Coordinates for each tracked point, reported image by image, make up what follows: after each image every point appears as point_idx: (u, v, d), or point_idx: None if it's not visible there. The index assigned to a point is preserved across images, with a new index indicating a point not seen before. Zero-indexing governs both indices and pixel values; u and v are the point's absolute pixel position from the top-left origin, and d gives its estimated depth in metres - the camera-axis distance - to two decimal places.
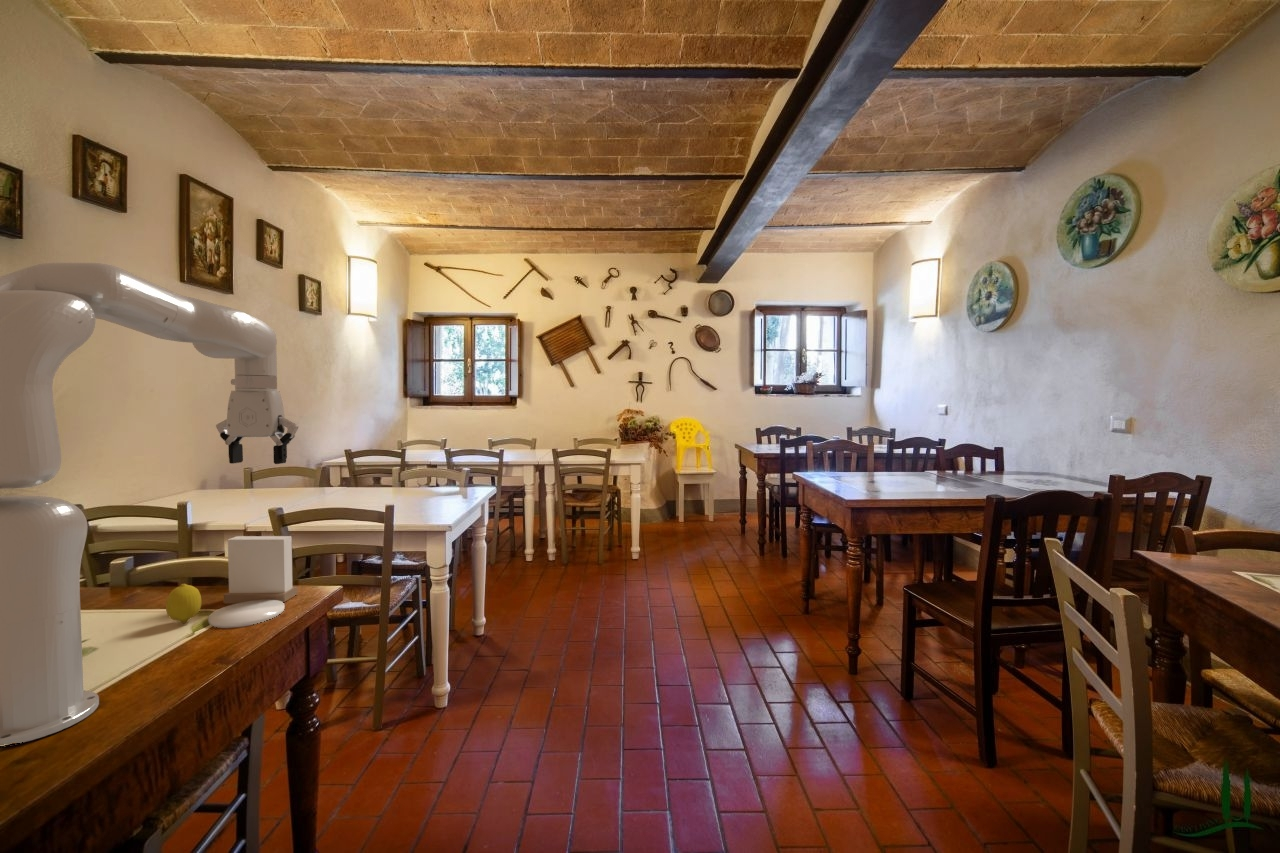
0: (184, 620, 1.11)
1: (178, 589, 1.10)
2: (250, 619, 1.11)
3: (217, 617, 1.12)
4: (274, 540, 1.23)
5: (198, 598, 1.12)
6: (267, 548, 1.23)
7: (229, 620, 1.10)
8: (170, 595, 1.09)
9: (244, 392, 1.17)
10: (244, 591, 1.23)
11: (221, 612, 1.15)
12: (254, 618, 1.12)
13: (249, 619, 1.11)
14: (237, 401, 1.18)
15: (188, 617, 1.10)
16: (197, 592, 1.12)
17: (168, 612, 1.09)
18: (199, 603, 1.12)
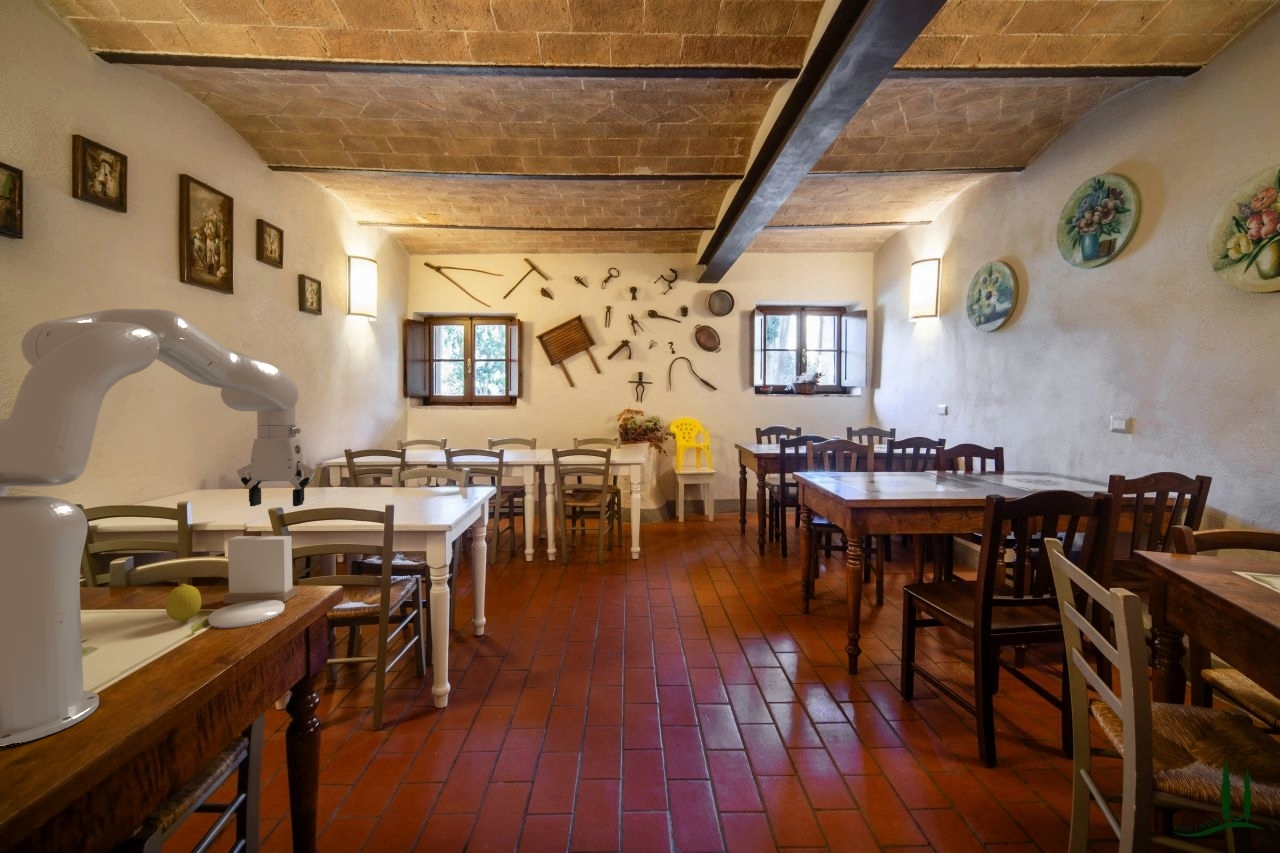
0: (184, 620, 1.11)
1: (178, 589, 1.10)
2: (250, 619, 1.11)
3: (217, 617, 1.12)
4: (274, 540, 1.23)
5: (198, 598, 1.12)
6: (267, 548, 1.23)
7: (229, 620, 1.10)
8: (170, 595, 1.09)
9: None
10: (244, 591, 1.23)
11: (221, 612, 1.15)
12: (254, 618, 1.12)
13: (249, 619, 1.11)
14: None
15: (188, 617, 1.10)
16: (197, 592, 1.12)
17: (168, 612, 1.09)
18: (199, 603, 1.12)
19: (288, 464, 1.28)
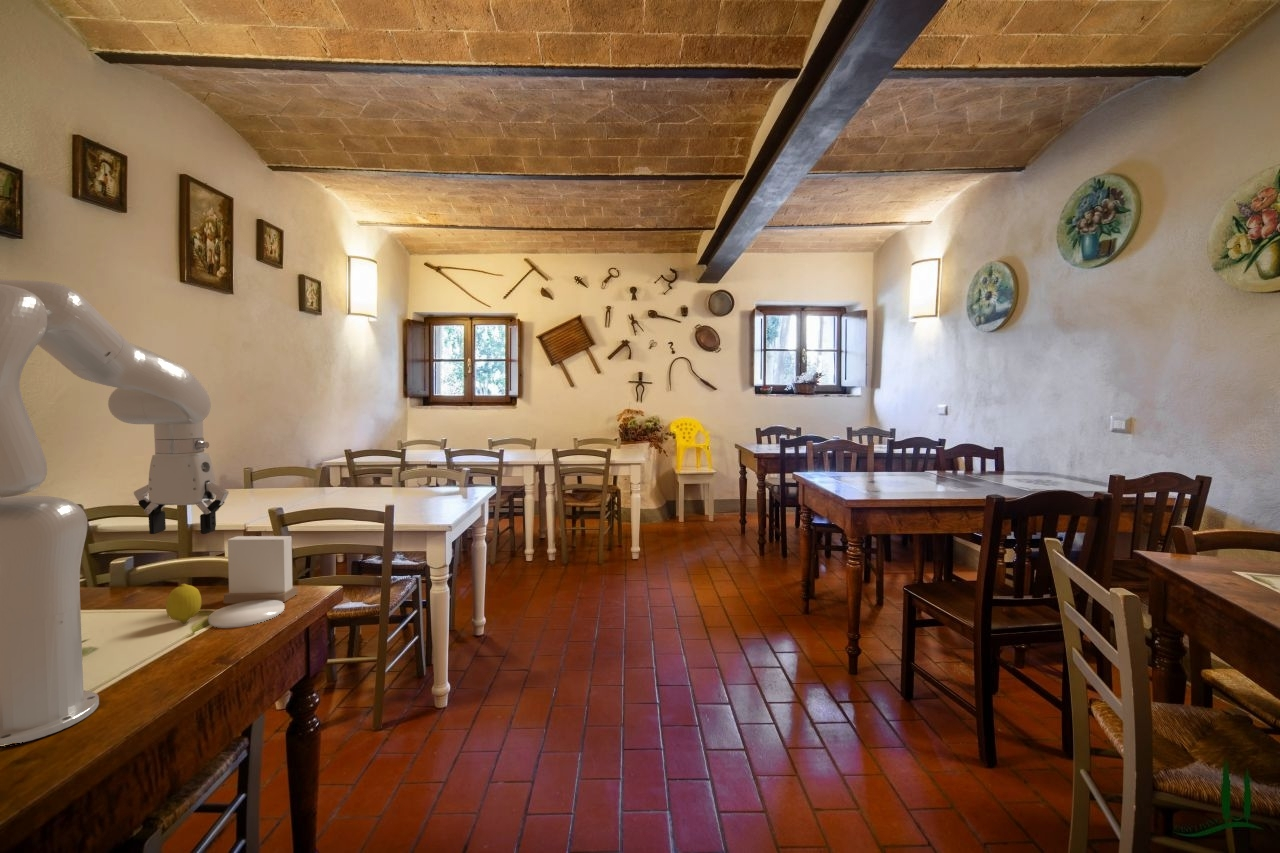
0: (184, 620, 1.11)
1: (178, 589, 1.10)
2: (250, 619, 1.11)
3: (217, 617, 1.12)
4: (274, 540, 1.23)
5: (198, 598, 1.12)
6: (267, 548, 1.23)
7: (229, 620, 1.10)
8: (170, 595, 1.09)
9: None
10: (244, 591, 1.23)
11: (221, 612, 1.15)
12: (254, 618, 1.12)
13: (249, 619, 1.11)
14: None
15: (188, 617, 1.10)
16: (197, 592, 1.12)
17: (168, 612, 1.09)
18: (199, 603, 1.12)
19: (193, 485, 1.08)
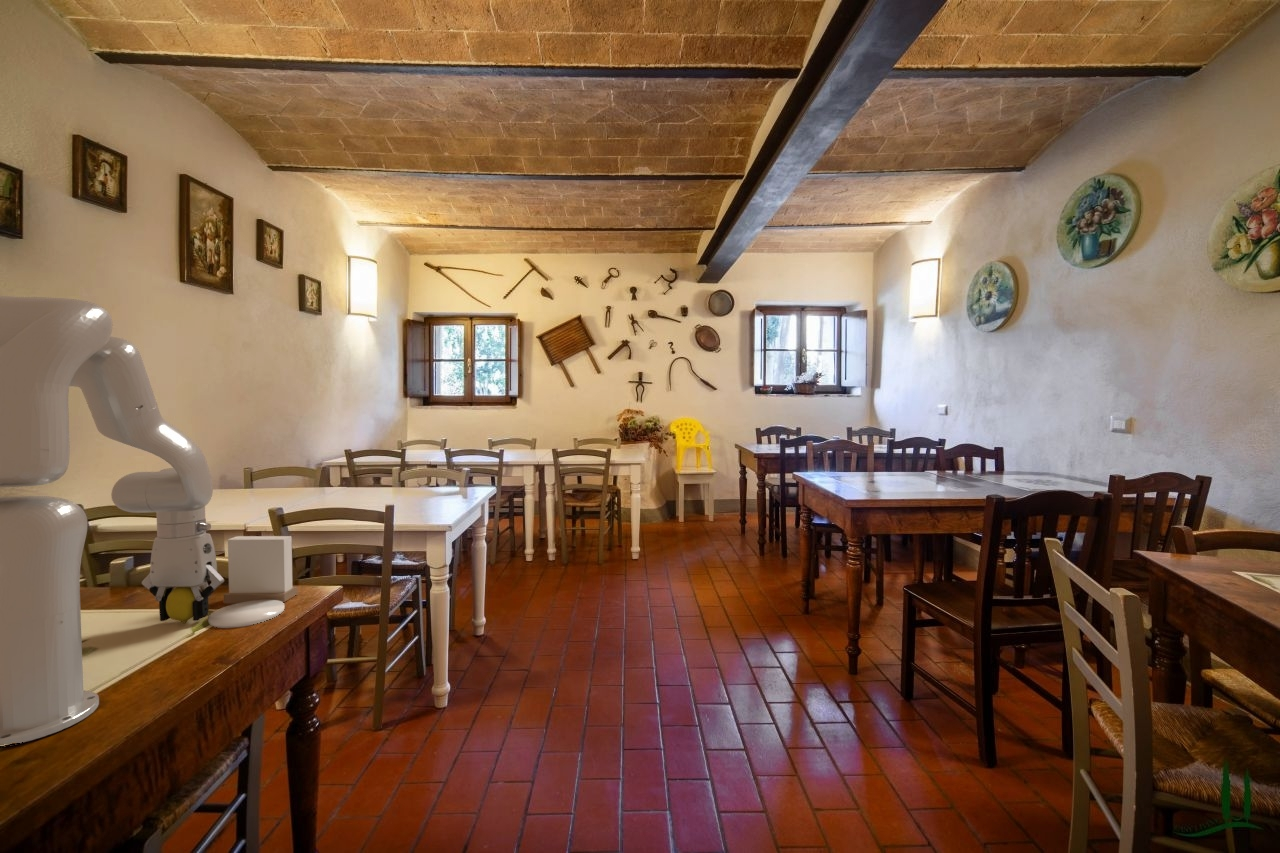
0: (184, 620, 1.11)
1: (178, 589, 1.10)
2: (250, 619, 1.11)
3: (217, 617, 1.12)
4: (274, 540, 1.23)
5: None
6: (267, 548, 1.23)
7: (229, 620, 1.10)
8: (170, 595, 1.09)
9: None
10: (244, 591, 1.23)
11: (221, 612, 1.15)
12: (254, 618, 1.12)
13: (249, 619, 1.11)
14: None
15: (188, 617, 1.10)
16: None
17: (168, 612, 1.09)
18: None
19: (195, 568, 1.09)
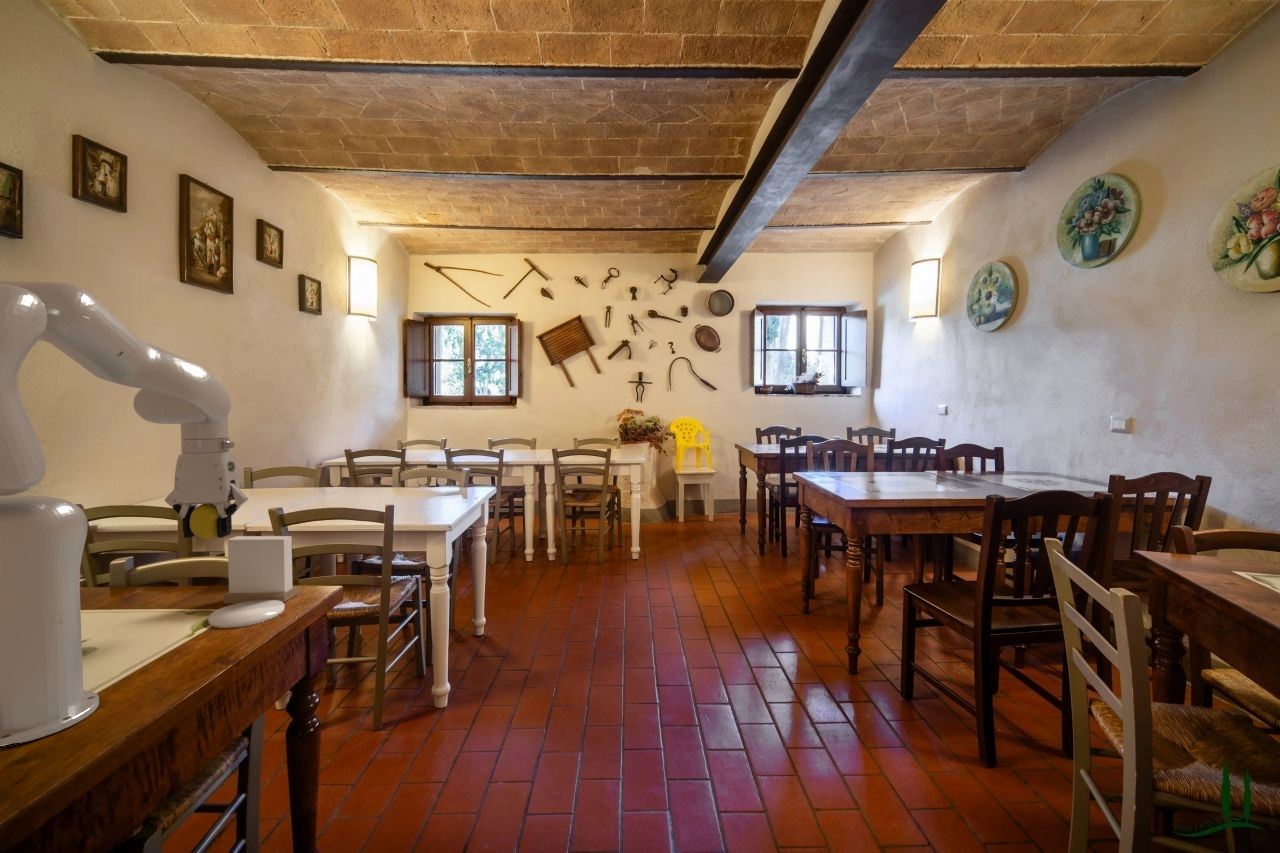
0: (208, 537, 1.11)
1: (202, 506, 1.11)
2: (250, 619, 1.11)
3: (217, 617, 1.12)
4: (274, 540, 1.23)
5: None
6: (267, 548, 1.23)
7: (229, 620, 1.10)
8: (194, 511, 1.10)
9: None
10: (244, 591, 1.23)
11: (221, 612, 1.15)
12: (254, 618, 1.12)
13: (249, 619, 1.11)
14: None
15: (212, 534, 1.11)
16: None
17: (192, 528, 1.10)
18: None
19: (219, 484, 1.10)
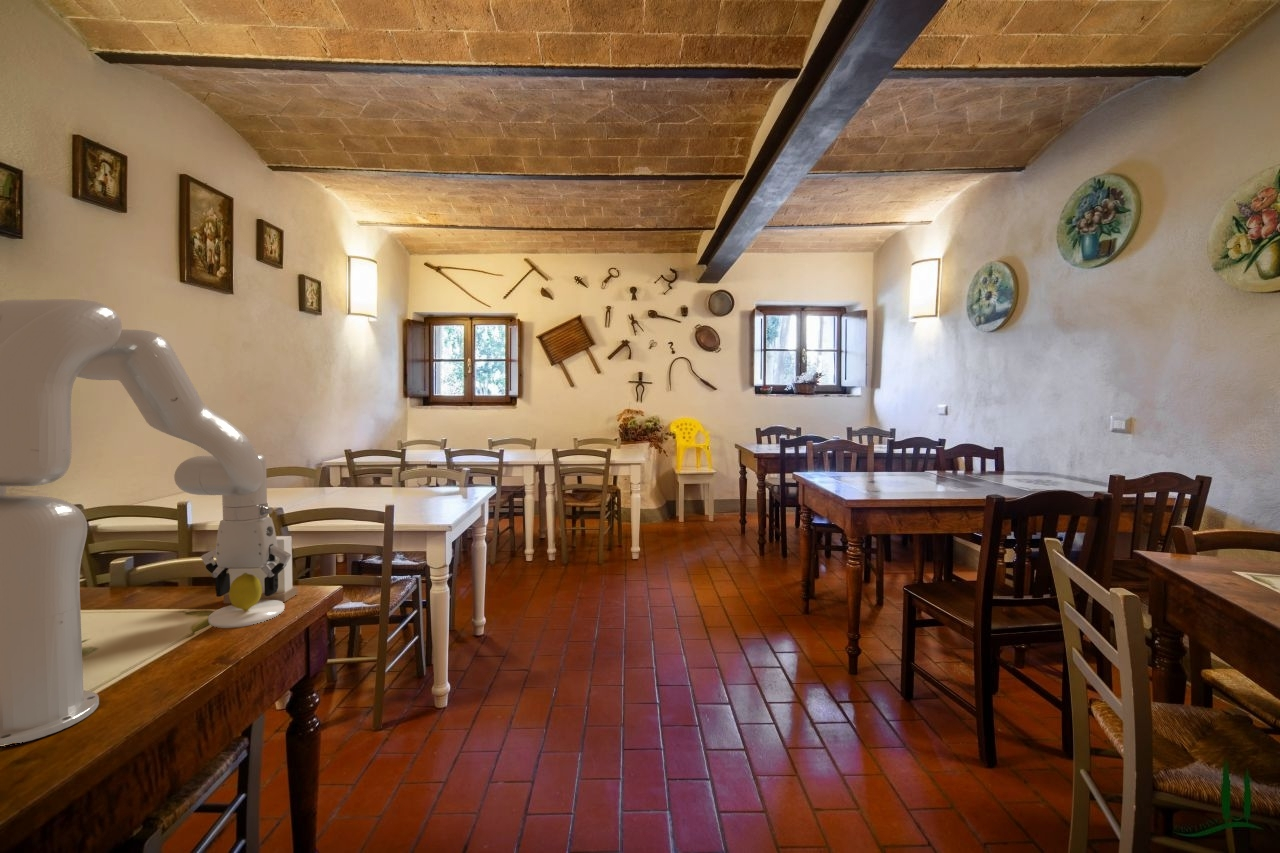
0: (246, 608, 1.15)
1: (241, 578, 1.14)
2: (250, 619, 1.11)
3: (217, 617, 1.12)
4: None
5: (259, 587, 1.16)
6: None
7: (229, 620, 1.10)
8: (233, 584, 1.13)
9: None
10: None
11: (221, 612, 1.15)
12: (254, 618, 1.12)
13: (249, 619, 1.11)
14: None
15: (250, 605, 1.14)
16: (258, 581, 1.16)
17: (232, 600, 1.13)
18: (260, 592, 1.16)
19: (259, 550, 1.13)
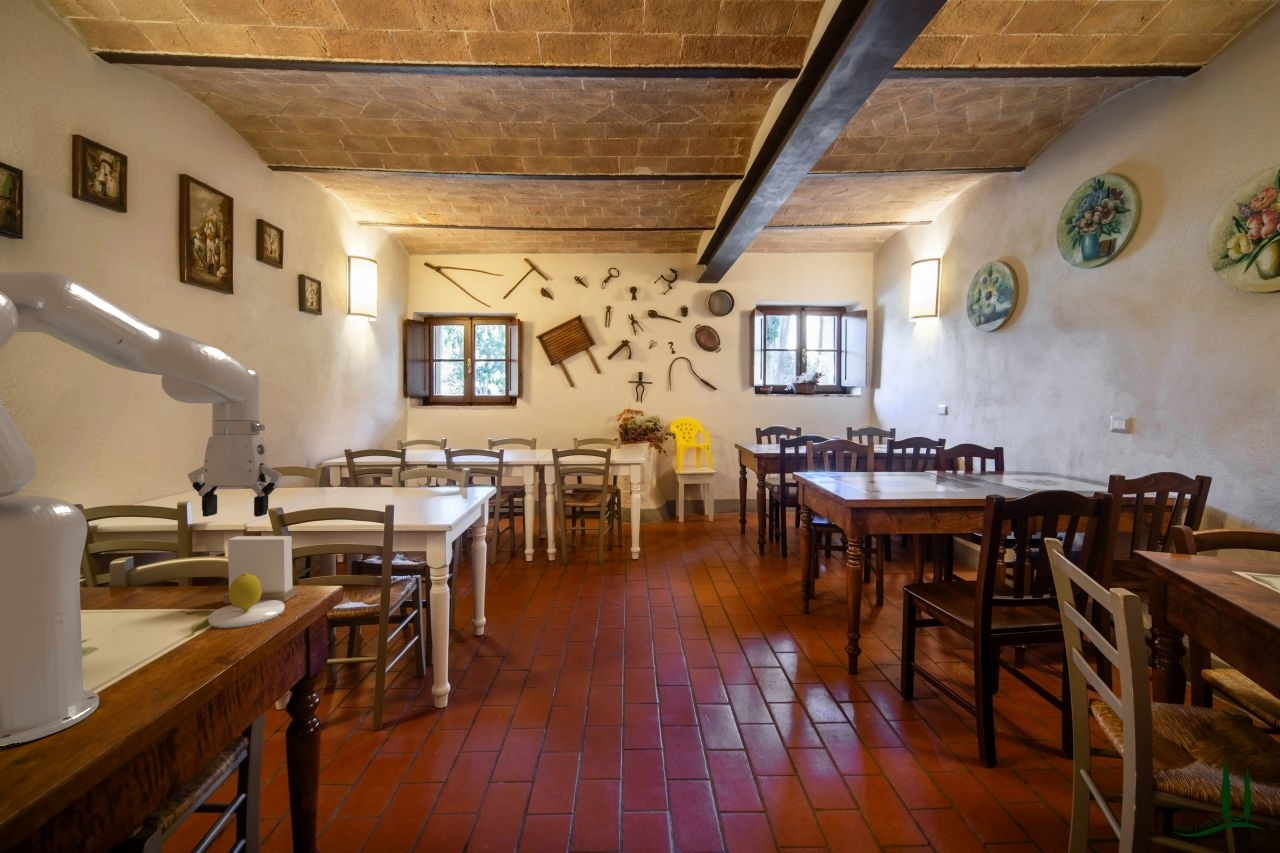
0: (246, 608, 1.15)
1: (240, 578, 1.14)
2: (250, 619, 1.11)
3: (217, 617, 1.12)
4: (274, 540, 1.23)
5: (259, 587, 1.16)
6: (267, 548, 1.23)
7: (229, 620, 1.10)
8: (233, 584, 1.13)
9: None
10: None
11: (221, 612, 1.15)
12: (254, 618, 1.12)
13: (249, 619, 1.11)
14: None
15: (250, 605, 1.14)
16: (258, 581, 1.16)
17: (231, 600, 1.13)
18: (260, 591, 1.16)
19: (249, 467, 1.09)
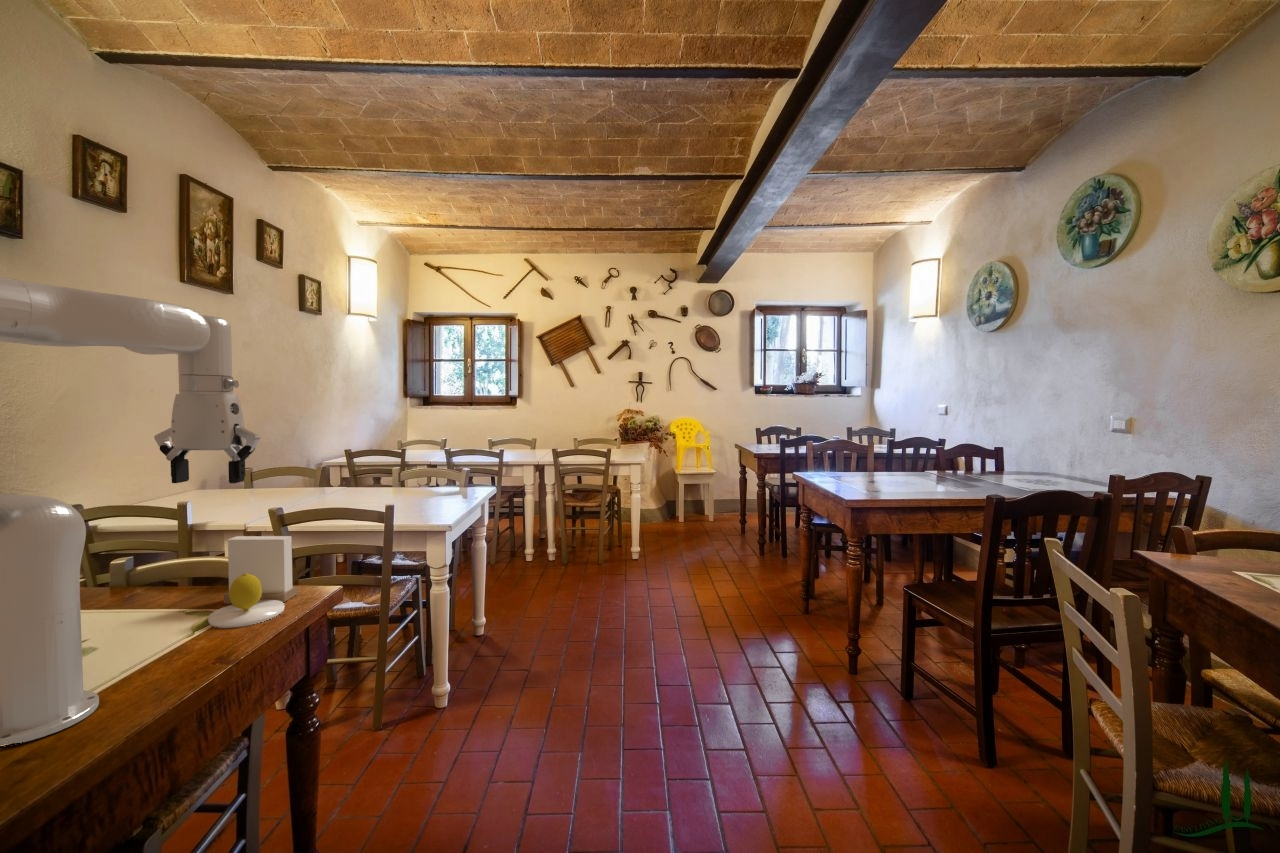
0: (246, 608, 1.15)
1: (241, 578, 1.14)
2: (250, 619, 1.11)
3: (217, 617, 1.12)
4: (274, 540, 1.23)
5: (259, 587, 1.16)
6: (267, 548, 1.23)
7: (229, 620, 1.10)
8: (233, 584, 1.13)
9: None
10: None
11: (221, 612, 1.15)
12: (254, 618, 1.12)
13: (249, 619, 1.11)
14: None
15: (250, 605, 1.14)
16: (258, 581, 1.16)
17: (232, 600, 1.13)
18: (260, 592, 1.16)
19: (221, 427, 0.97)
